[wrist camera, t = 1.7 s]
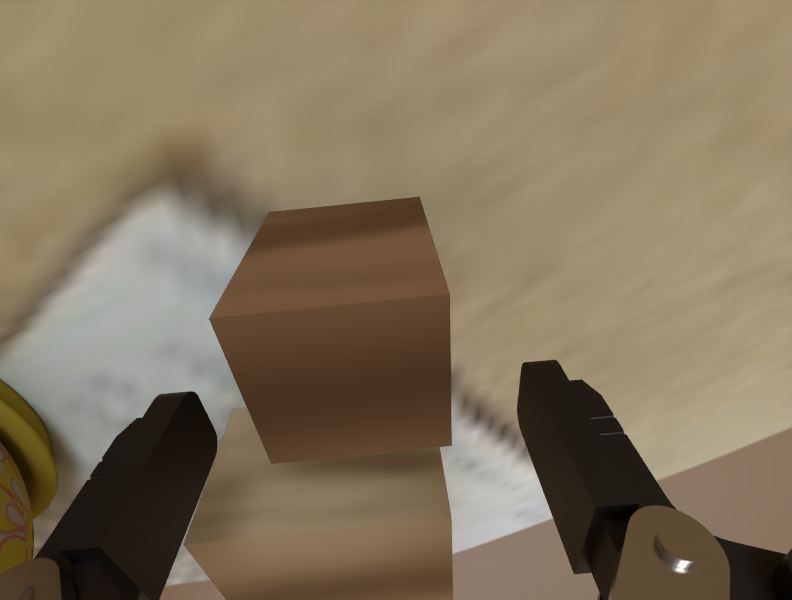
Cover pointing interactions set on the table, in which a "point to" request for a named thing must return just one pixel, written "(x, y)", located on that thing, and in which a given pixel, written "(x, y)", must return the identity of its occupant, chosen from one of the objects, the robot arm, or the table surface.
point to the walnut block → (341, 332)
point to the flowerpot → (22, 477)
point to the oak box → (323, 524)
